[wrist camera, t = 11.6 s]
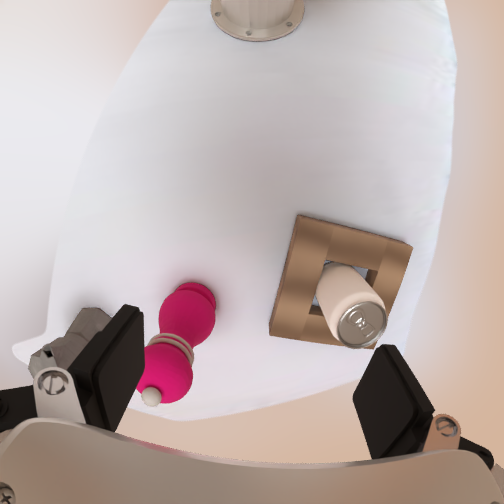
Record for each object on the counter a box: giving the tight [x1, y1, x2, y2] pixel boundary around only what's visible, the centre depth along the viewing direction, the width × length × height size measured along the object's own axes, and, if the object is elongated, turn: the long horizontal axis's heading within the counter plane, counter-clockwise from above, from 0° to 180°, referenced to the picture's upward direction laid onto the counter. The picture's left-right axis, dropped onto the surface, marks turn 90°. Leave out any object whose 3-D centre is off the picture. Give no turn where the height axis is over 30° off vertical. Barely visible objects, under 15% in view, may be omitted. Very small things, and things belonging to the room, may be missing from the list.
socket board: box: [269, 215, 413, 349], centre depth 36 cm, size 16×16×3 cm
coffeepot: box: [28, 308, 112, 379], centre depth 33 cm, size 15×9×18 cm, turn 163°
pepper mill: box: [136, 283, 216, 407], centre depth 29 cm, size 7×7×20 cm
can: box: [315, 262, 388, 349], centre depth 32 cm, size 6×6×12 cm
